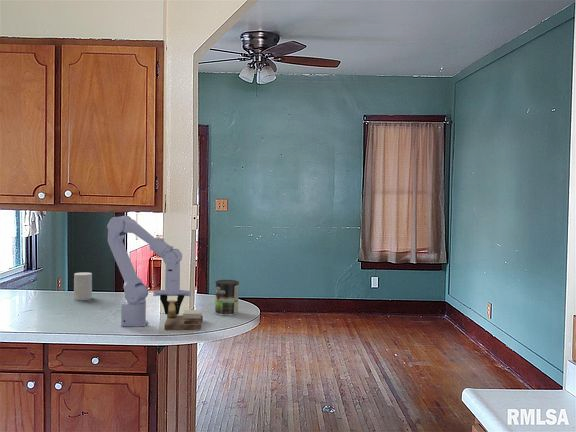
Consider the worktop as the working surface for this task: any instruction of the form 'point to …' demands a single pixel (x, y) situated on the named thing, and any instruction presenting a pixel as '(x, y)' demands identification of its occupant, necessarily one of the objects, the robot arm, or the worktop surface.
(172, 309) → the brass pin
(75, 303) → the worktop surface
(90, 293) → the cup
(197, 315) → the cover
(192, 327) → the walnut board
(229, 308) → the coffee can
